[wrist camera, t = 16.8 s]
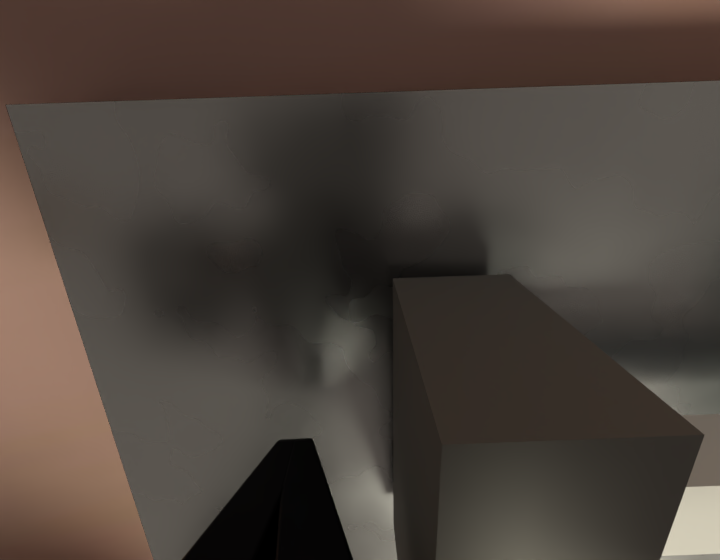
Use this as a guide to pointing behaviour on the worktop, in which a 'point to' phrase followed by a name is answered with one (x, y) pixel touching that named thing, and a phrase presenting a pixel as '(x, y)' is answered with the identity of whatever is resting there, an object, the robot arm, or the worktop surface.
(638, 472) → the ram
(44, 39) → the worktop surface
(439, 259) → the press
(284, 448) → the robot arm
